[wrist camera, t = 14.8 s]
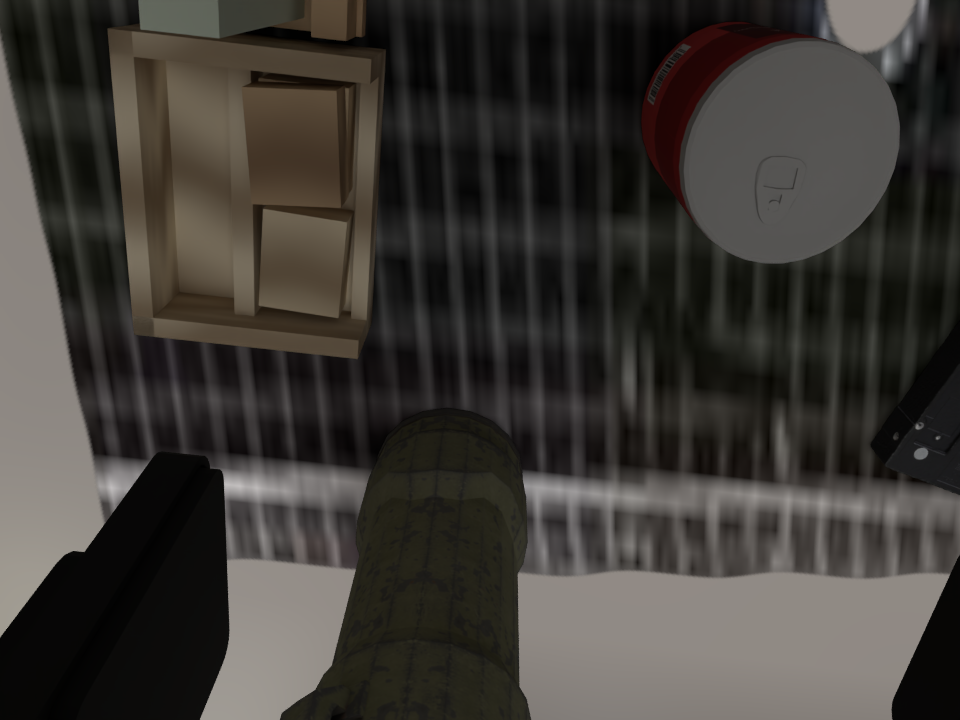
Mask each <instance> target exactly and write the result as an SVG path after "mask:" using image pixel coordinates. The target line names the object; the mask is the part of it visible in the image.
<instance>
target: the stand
mask: <svg viewBox="0 0 960 720" xmlns="http://www.w3.org/2000/svg"><path fill="white" fill-rule="evenodd" d="M365 24H366V0H305V13H304V18H302V19H298V20H293V21H289V22H285V23H281V24H277V25H273V26H269V27H278V28H286V29H295V30H304V31H311V37H316V38H324V39H333V40H342V41H347V40H350V39H352V38H354V37H363V36H365Z"/></svg>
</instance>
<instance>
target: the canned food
mask: <svg viewBox="0 0 960 720" xmlns="http://www.w3.org/2000/svg"><path fill="white" fill-rule="evenodd" d="M641 126H642V136H643V141H644V144H645V148H646V151H647V154H648V156H649V158H650V160H651V162H652V163H653V165H654V167H655V169H656V170H657V171H658V173H659V174H660V176H661V177H662V178H663V180H664V181H665V183H666V184H667V186H668V187H669V188H670V190H671V191H672V193H673V194H674V195H675V197H676V198H677V200H678V201H679V202H680V204H681V205H682V207H683V208H684V209H685V211H686V212H687V214H688V215H689V216H690V218H691V219H692V220H693V221H694V222H695V224H696V225H697V226H698V227H699V228H700V229H701V230H702V232H703V233H704V234H705V235H706V236H707V237H708V238H709V239H710V240H712V241H713V242H714V243H716V244H717V245H718V246H720V247H721V248H723V249H724V250H726V251H727V252H729V253H731V254H733V255H736V256H738V257H740V258H743V259H745V260H750V261H755V262H760V263H787V262H792V261H797V260H803V259H806V258H808V257H811V256H813V255H816V254H819V253H821V252H824V251H825V250H827V249H829V248H830V247H832V246H834V245H835V244H837V243H839V242H840V241H842V240H843V239H844V238H846V237H847V236H848V235H849V234H850V233H852V232H853V231H854V230H855V229H856V228H858V227H859V226H860V225H861V223H862V222H863V221H864V220H865V219H866V218H867V217H868V215H869V214H870V213H871V212H872V211H873V210H874V208H875V206H876V205H877V203H878V202H879V200H880V198H881V197H882V195H883V194H884V192H885V190H886V188H887V186H888V183H889V181H890V178H891V176H892V173H893V171H894V168H895V164H896V159H897V154H898V150H899V132H900V124H899V119H898V113H897V107H896V103H895V101H894V98H893V96H892V93H891V91H890V89H889V86H888V84H887V83H886V82H885V80H884V79H883V77H882V76H881V75H880V73H879V72H878V70H877V69H876V68H875V67H874V66H873V65H871V64H870V63H869V62H868V61H867V60H865V59H864V58H863V57H862V56H861V55H859V54H857V53H856V52H855V51H853V50H851V49H849V48H847V47H844V46H842V45H840V44H838V43H836V42H832V41H828V40H826V39H822V38H817V37H813V36H808V35H803V34H799V33H794V32H789V31H784V30H779V29H775V28H770V27H765V26H760V25H755V24H751V23H746V22H724V23H720V24H715V25H711V26H708V27H706V28H703V29H701V30H699V31H697V32H695V33H693V34H691V35H690V36H688V37H687V38H685V39H684V40H683V41H681V42H680V43H678V44H677V45H676V46H675V47H674V48H673V49H672V50H671V51H670V52H669V53H668V54H667V55H666V56H665V58H664V59H663V61H662V62H661V63H660V65H659V66H658V68H657V69H656V71H655V72H654V74H653V77H652V79H651V81H650V83H649V85H648V87H647V91H646V94H645V98H644V102H643V106H642V118H641Z"/></svg>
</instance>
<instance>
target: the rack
mask: <svg viewBox="0 0 960 720" xmlns="http://www.w3.org/2000/svg"><path fill="white" fill-rule="evenodd" d="M108 39H109V51H110V62H111V74H112V85H113V97H114V108H115V120H116V131H117V143H118V154H119V166H120V177H121V189H122V200H123V212H124V223H125V235H126V246H127V258H128V269H129V281H130V292H131V304H132V315H133V327H134V335H143V336H153V337H162V338H171V339H180V340H189V341H198V342H208V343H217V344H226V345H235V346H244V347H253V348H263V349H272V350H281V351H290V352H299V353H308V354H318V355H327V356H336V357H345V358H354V359H358V357H359V354H360V352H361V349H362V346H363V344H364V341H365V339H366V336H367V333H368V331H369V328H370V326H371V323H372V304H373V285H374V266H375V247H376V228H377V209H378V190H379V170H380V151H381V132H382V113H383V94H384V75H385V56H386V49H377V48H369V47H360V46H351V45H343V44H334V43H326V42H317V41H308V40H300V39H291V38H283V37H274V36H265V35H257V34H248V33H240V34H236V35H232V36H227V37H223V38H211V37H202V36H194V35H185V34H176V33H167V32H159V31H150V30H141V29H140V24H135V25H128V26H121V27H115V28H108ZM269 73H276V74H285V75H293V76H302V77H311V78H319V79H328V80H337V81H345V82H354V83H356V109H355V135H354V161H353V187H352V190H351V192H350V193H349V197H348V199H347V200H346V201H345V203H344V204H343V206H342V207H341V208H338V209H344V210H350V211H354V218H353V229H352V239H351V250H350V261H349V271H348V282H347V293H346V303H345V305H344V308H343V310H342V312H341V314H340V316H339V318H334V317H327V316H321V315H315V314H309V313H302V312H296V311H290V310H283V309H277V308H271V307H264V306H259V288H260V265H261V243H262V220H263V208H264V207H265V206H266V205H262V204H252V202H251V190H250V179H249V167H248V156H247V144H246V133H245V121H244V110H243V99H242V87H243V86H245V85H247V84H249V83H252V82H254V81H259V78H260V77H262V76H265V75H267V74H269Z"/></svg>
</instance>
